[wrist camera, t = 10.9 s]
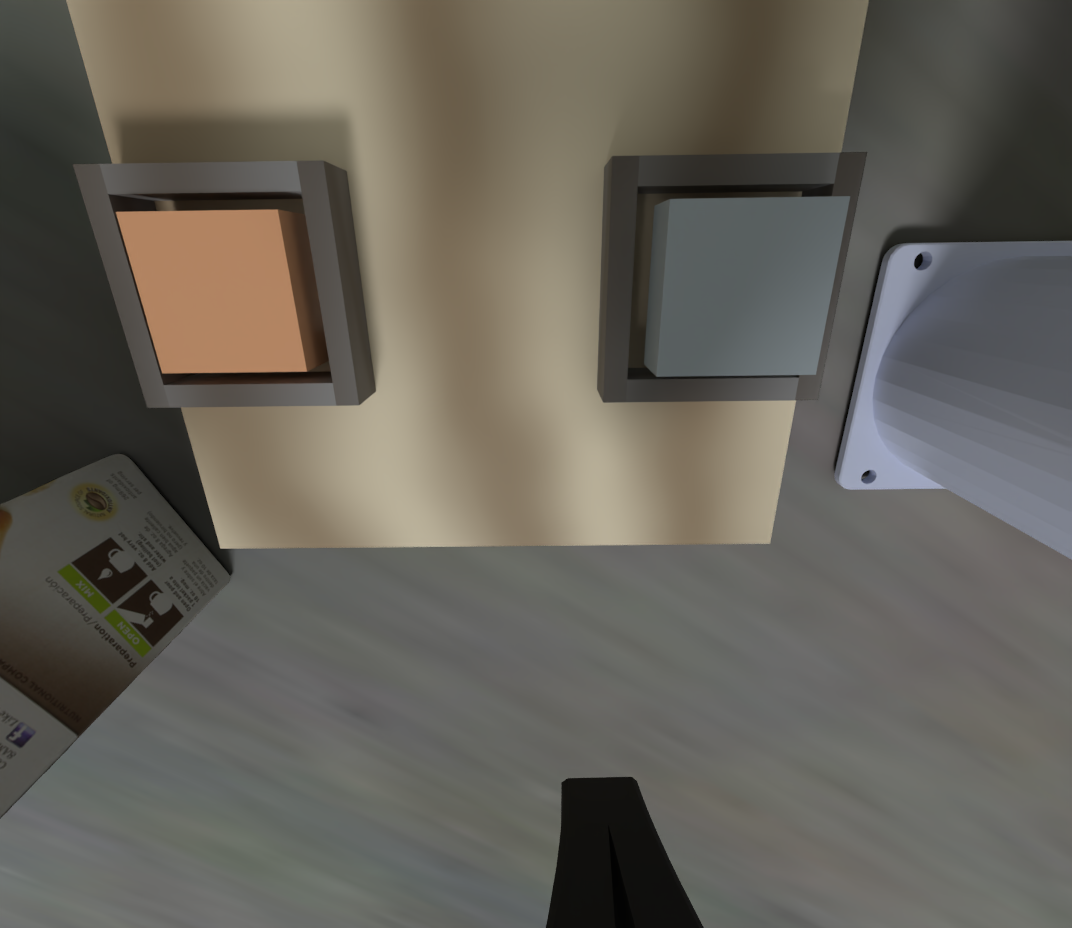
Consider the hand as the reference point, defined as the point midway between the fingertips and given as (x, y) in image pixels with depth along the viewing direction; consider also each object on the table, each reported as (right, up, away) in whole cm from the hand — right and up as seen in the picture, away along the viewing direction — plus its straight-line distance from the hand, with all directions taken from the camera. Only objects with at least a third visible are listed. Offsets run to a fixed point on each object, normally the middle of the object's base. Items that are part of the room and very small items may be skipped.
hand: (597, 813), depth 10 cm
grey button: (+3, +11, +3) cm, 12 cm away
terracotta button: (-9, +11, +4) cm, 15 cm away
